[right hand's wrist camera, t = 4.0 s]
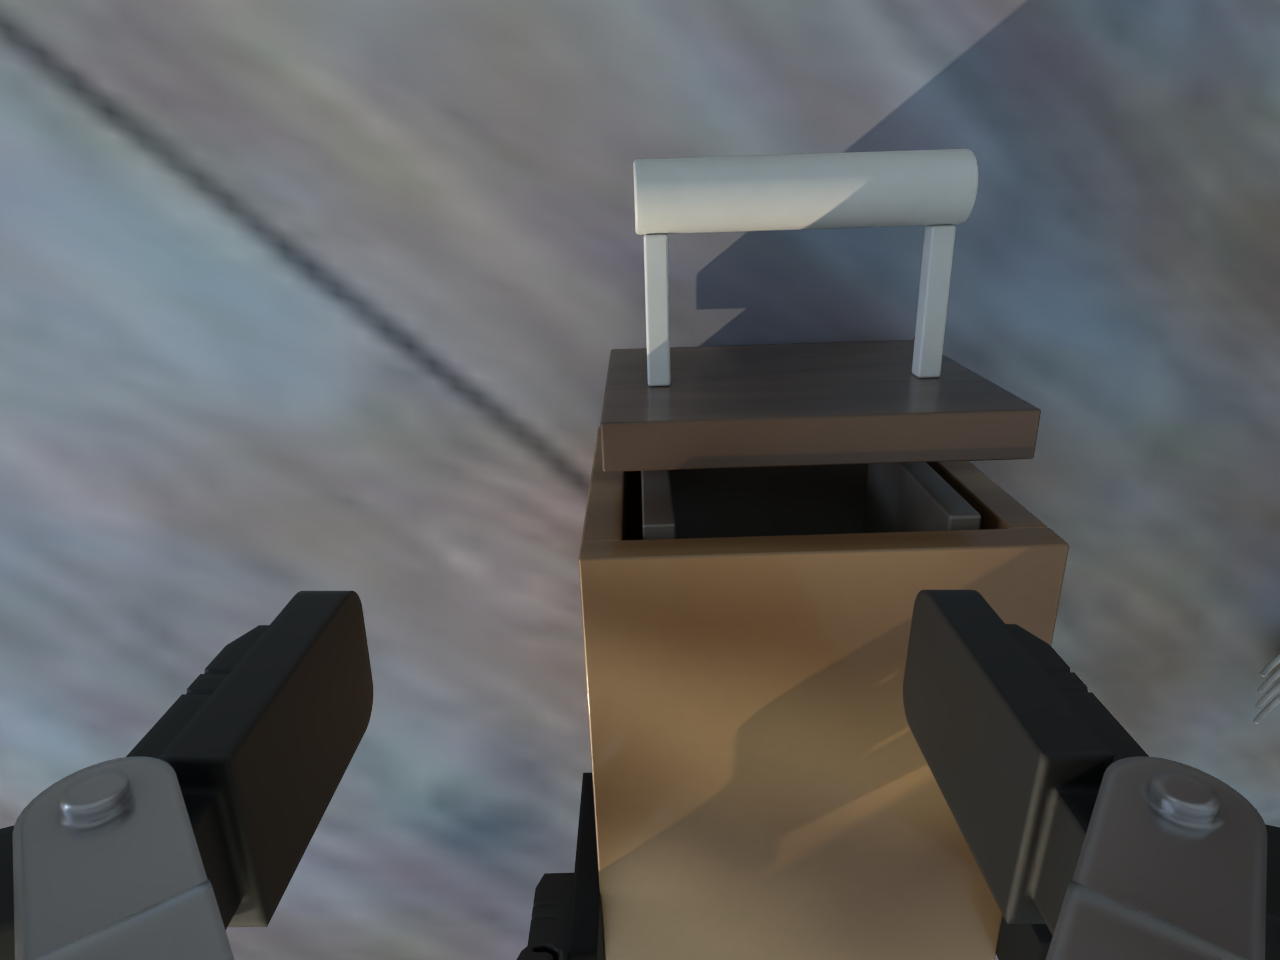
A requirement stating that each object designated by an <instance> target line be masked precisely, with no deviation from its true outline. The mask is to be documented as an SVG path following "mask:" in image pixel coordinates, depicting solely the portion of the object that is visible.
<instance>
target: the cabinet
mask: <svg viewBox="0 0 1280 960" xmlns="http://www.w3.org/2000/svg"><path fill="white" fill-rule="evenodd" d="M926 463H927V464H928V465H929V466H930V467H931V468H932V469H933V470H934V471H936V472H937V473H938V474H939V475H940V476H941V477H942V478H943V479H944V480H945V481H946V482H947V483H948V484H949V485H950V486H951V487H952V488H953V489H954V490H955V491H956V492H957V493H958V494H959V495H960V496H961V497H962V498H964V499H965V500H966V501H967V502H968V503H969V504H970V505H971V506H972V507H973V508H974V509H975V510H976V511H977V512H978V513H979V514H980V516H981V521H980V528H979V530H953V531H920V532H887V533H854V534H821V535H788V536H755V537H722V538H688V539H655V540H643V527H642V482H641V471H617V472H604V471H603V467H602V447H601V427H600V428H598V433H597V439H596V446H595V453H594V459H593V466H592V473H591V480H590V486H589V493H588V500H587V507H586V513H585V520H584V527H583V534H582V540H581V547H580V553H579V560H578V561H579V577H580V592H581V608H582V623H583V639H584V654H585V670H586V685H587V701H588V716H589V732H590V747H591V763H592V778H593V794H594V809H595V825H596V840H597V856H598V871H599V887H600V899H601V914H602V930H603V945H604V960H995V955H996V950H997V944H998V939H999V933H1000V928H1001V922H1002V916H1003V915H1002V913H1001V911H1000V909H999V907H998V905H997V903H996V901H995V899H994V897H993V895H992V893H991V891H990V889H989V887H988V884H987V882H986V880H985V878H984V876H983V874H982V872H981V870H980V868H979V866H978V864H977V862H976V860H975V858H974V856H973V854H972V852H971V850H970V848H969V846H968V844H967V842H966V840H965V838H964V836H963V834H962V832H961V830H960V828H959V826H958V824H957V822H956V820H955V818H954V816H953V814H952V812H951V810H950V808H949V806H948V804H947V802H946V800H945V798H944V796H943V794H942V792H941V790H940V788H939V786H938V784H937V782H936V780H935V778H934V776H933V774H932V772H931V770H930V768H929V766H928V764H927V762H926V760H925V758H924V756H923V754H922V752H921V750H920V748H919V746H918V744H917V742H916V740H915V738H914V736H913V734H912V732H911V730H910V727H909V725H908V722H907V719H906V715H905V710H904V703H903V680H904V673H905V665H906V658H907V651H908V644H909V636H910V629H911V622H912V615H913V608H914V602H915V599H916V596H917V594H918V593H919V592H920V591H921V590H976V591H978V592H979V593H980V594H981V595H982V597H983V598H984V599H985V600H986V601H987V603H988V604H989V605H990V606H991V607H992V609H993V610H994V611H995V612H996V613H997V615H998V616H999V617H1000V618H1001V619H1002V621H1003V622H1004V623H1005V624H1017V625H1018V626H1020V627H1022V628H1023V629H1025V630H1027V631H1028V632H1030V633H1031V634H1033V635H1035V636H1036V637H1038V638H1040V639H1041V640H1043V641H1044V642H1046V643H1048V644H1049V645H1050V646H1051V644H1052V638H1053V632H1054V627H1055V621H1056V616H1057V610H1058V605H1059V599H1060V593H1061V588H1062V582H1063V577H1064V571H1065V566H1066V560H1067V554H1068V549H1069V545H1068V543H1067V542H1065V541H1064V540H1063V539H1062V538H1061V537H1059V536H1058V535H1057V534H1056V533H1055V532H1053V531H1052V530H1051V529H1050V528H1047V526H1046V525H1045V524H1044V523H1042V522H1041V521H1040V520H1039V519H1038V518H1036V517H1035V516H1034V515H1033V514H1032V513H1030V512H1029V511H1028V510H1027V509H1026V508H1024V507H1023V506H1022V505H1021V504H1020V503H1018V502H1017V501H1016V500H1015V499H1014V498H1012V497H1011V496H1010V495H1009V494H1008V493H1006V492H1005V491H1004V490H1003V489H1002V488H1000V487H999V486H998V485H997V484H996V483H995V482H993V481H992V480H991V479H990V478H989V477H987V476H986V475H985V474H984V473H983V472H981V471H980V470H979V469H978V468H977V467H975V466H974V465H973V464H972V463H971V462H969V461H944V462H926Z"/></svg>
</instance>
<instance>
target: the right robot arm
mask: <svg viewBox="0 0 1280 960" xmlns="http://www.w3.org/2000/svg"><path fill="white" fill-rule="evenodd" d="M903 703H904V710H905V715H906V719H907V722H908V725H909V727H910V730H911V732H912V734H913V736H914V738H915V740H916V742H917V744H918V746H919V748H920V750H921V752H922V754H923V756H924V758H925V760H926V762H927V764H928V766H929V768H930V770H931V772H932V774H933V776H934V778H935V780H936V782H937V784H938V786H939V788H940V790H941V792H942V794H943V796H944V798H945V800H946V802H947V804H948V806H949V808H950V810H951V812H952V814H953V816H954V818H955V820H956V822H957V824H958V826H959V828H960V830H961V832H962V834H963V836H964V838H965V840H966V842H967V844H968V846H969V848H970V850H971V852H972V854H973V856H974V858H975V860H976V862H977V864H978V866H979V868H980V870H981V872H982V874H983V876H984V878H985V880H986V882H987V884H988V887H989V889H990V891H991V893H992V895H993V897H994V899H995V901H996V903H997V905H998V907H999V909H1000V911H1001V913H1002V915H1003V917H1004V919H1005V921H1006V923H1007V924H1046V925H1047V926H1048V928H1049V930H1050V932H1051V934H1052V935H1053V937H1052V941H1051V944H1050V947H1049V951H1048V954H1047V957H1046V960H1280V828H1279V827H1274V826H1270V825H1265V823H1264V821H1263V819H1262V817H1261V816H1260V814H1259V813H1258V811H1257V810H1256V809H1255V808H1254V807H1253V805H1252V804H1251V803H1250V802H1249V801H1248V800H1247V799H1245V798H1244V797H1243V796H1242V795H1241V794H1240V793H1238V792H1237V791H1236V790H1234V789H1233V788H1231V787H1230V786H1229V785H1227V784H1225V783H1224V782H1222V781H1220V780H1219V779H1217V778H1215V777H1213V776H1211V775H1209V774H1207V773H1205V772H1203V771H1201V770H1198V769H1196V768H1193V767H1191V766H1188V765H1185V764H1182V763H1179V762H1175V761H1171V760H1167V759H1162V758H1155V757H1149V756H1148V755H1147V754H1146V753H1145V752H1144V750H1143V749H1142V748H1141V747H1140V746H1139V745H1138V744H1137V743H1136V741H1135V740H1134V739H1133V738H1132V737H1131V736H1130V735H1129V734H1128V732H1127V731H1126V730H1125V729H1124V728H1123V727H1122V726H1121V725H1120V723H1119V722H1118V721H1117V720H1116V719H1115V718H1114V717H1113V716H1112V714H1111V713H1110V712H1109V711H1108V710H1107V709H1106V708H1105V707H1104V706H1103V704H1102V703H1101V702H1100V701H1099V700H1098V699H1097V698H1096V697H1095V695H1094V694H1093V693H1088V691H1087V686H1086V685H1085V684H1084V683H1083V682H1082V681H1081V680H1080V679H1079V677H1078V676H1077V675H1076V674H1075V673H1070V667H1069V666H1068V665H1067V664H1066V663H1065V662H1064V661H1063V660H1062V658H1061V657H1060V656H1059V655H1058V654H1057V653H1056V652H1055V651H1054V649H1053V648H1052V647H1051V646H1050V645H1049V644H1048V643H1046V642H1044V641H1043V640H1041V639H1040V638H1038V637H1036V636H1035V635H1033V634H1031V633H1030V632H1028V631H1027V630H1025V629H1023V628H1022V627H1020V626H1018V625H1017V624H1005V623H1004V622H1003V621H1002V619H1001V618H1000V617H999V616H998V615H997V613H996V612H995V611H994V610H993V609H992V607H991V606H990V605H989V604H988V603H987V601H986V600H985V599H984V598H983V597H982V595H981V594H980V593H979V592H978V591H976V590H921V591H920V592H919V593H918V594H917V596H916V599H915V602H914V608H913V615H912V622H911V629H910V636H909V644H908V651H907V658H906V665H905V673H904V680H903ZM372 704H373V682H372V674H371V667H370V660H369V653H368V646H367V639H366V631H365V624H364V617H363V610H362V604H361V601H360V598H359V596H358V594H357V593H356V592H354V591H300V592H298V593H297V594H296V595H295V596H294V597H293V598H292V599H291V601H290V602H289V603H288V604H287V605H286V607H285V608H284V609H283V610H282V611H281V613H280V614H279V615H278V616H277V617H276V618H275V620H274V621H273V622H272V623H271V624H270V625H259V626H257V627H256V628H254V629H253V630H251V631H249V632H248V633H246V634H244V635H243V636H241V637H239V638H238V639H236V640H235V641H233V642H231V643H230V644H228V645H226V646H225V647H224V649H223V650H222V651H221V652H220V653H219V654H218V655H217V656H216V657H215V659H214V660H213V661H212V662H211V663H210V664H209V665H208V666H207V667H206V669H205V673H204V674H200V675H199V676H198V677H197V679H196V680H195V681H194V682H193V683H192V684H191V685H190V686H189V688H188V689H187V694H186V695H181V696H180V698H179V699H178V700H177V701H176V702H175V703H174V704H173V705H172V706H171V708H170V709H169V710H168V711H167V712H166V713H165V714H164V715H163V716H162V718H161V719H160V720H159V721H158V722H157V723H156V724H155V725H154V726H153V728H152V729H151V730H150V731H149V732H148V733H147V734H146V735H145V736H144V738H143V739H142V740H141V741H140V742H139V743H138V744H137V745H136V746H135V748H134V749H133V750H132V751H131V752H130V753H129V754H128V755H127V756H126V757H125V758H118V759H113V760H109V761H105V762H101V763H98V764H95V765H92V766H89V767H87V768H84V769H82V770H79V771H77V772H75V773H73V774H71V775H69V776H67V777H65V778H63V779H61V780H60V781H58V782H56V783H55V784H53V785H51V786H50V787H49V788H47V789H46V790H44V791H43V792H42V793H40V794H39V795H38V796H37V797H36V798H35V799H33V800H32V801H31V802H30V803H29V804H28V805H27V807H26V808H25V809H24V810H23V811H22V813H21V814H20V816H19V817H18V819H17V821H16V823H15V825H14V826H10V827H6V828H2V829H0V960H234V957H233V954H232V951H231V947H230V944H229V941H228V937H227V934H226V931H225V930H226V929H227V927H267V926H268V924H269V922H270V920H271V918H272V916H273V914H274V912H275V910H276V908H277V906H278V904H279V902H280V900H281V898H282V896H283V894H284V892H285V890H286V888H287V886H288V884H289V882H290V880H291V878H292V876H293V874H294V872H295V870H296V868H297V866H298V864H299V862H300V860H301V858H302V856H303V854H304V852H305V850H306V848H307V846H308V844H309V842H310V840H311V838H312V836H313V834H314V832H315V830H316V828H317V826H318V824H319V822H320V820H321V818H322V816H323V814H324V812H325V810H326V808H327V806H328V804H329V802H330V801H331V799H332V797H333V795H334V793H335V791H336V789H337V787H338V785H339V783H340V781H341V779H342V777H343V775H344V773H345V771H346V769H347V767H348V765H349V763H350V761H351V759H352V757H353V755H354V753H355V751H356V749H357V747H358V745H359V743H360V741H361V739H362V737H363V735H364V733H365V731H366V729H367V726H368V723H369V720H370V716H371V711H372Z"/></svg>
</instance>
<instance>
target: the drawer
mask: <svg viewBox="0 0 1280 960" xmlns="http://www.w3.org/2000/svg"><path fill="white" fill-rule="evenodd" d="M633 165H634V198H635V230H636V233H637V234H639V235H642V234H645V235H644V267H645V304H646V340H647V348H643V349H613V350H611V353H610V360H609V367H608V374H607V381H606V389H605V396H604V403H603V410H602V417H601V424H600V427H601V447H602V467H603V471H604V472H617V471H641V482H642V527H643V540H655V539H688V538H722V537H755V536H788V535H821V534H854V533H887V532H920V531H953V530H979V528H980V521H981V516H980V514H979V513H978V512H977V511H976V510H975V509H974V508H973V507H972V506H971V505H970V504H969V503H968V502H967V501H966V500H965V499H964V498H962V497H961V496H960V495H959V494H958V493H957V492H956V491H955V490H954V489H953V488H952V487H951V486H950V485H949V484H948V483H947V482H946V481H945V480H944V479H943V478H942V477H941V476H940V475H939V474H938V473H937V472H936V471H934V470H933V469H932V468H931V467H930V466H929V465H928V464H927V463H926V462H944V461H976V460H1009V459H1032V458H1033V457H1034V451H1035V445H1036V439H1037V432H1038V426H1039V419H1040V413H1041V411H1040V409H1038V408H1037V407H1035V406H1033V405H1031V404H1029V403H1028V402H1026V401H1024V400H1022V399H1021V398H1019V397H1017V396H1015V395H1013V394H1012V393H1010V392H1008V391H1006V390H1005V389H1003V388H1001V387H999V386H997V385H996V384H994V383H992V382H990V381H989V380H987V379H985V378H983V377H981V376H980V375H978V374H976V373H974V372H973V371H971V370H969V369H967V368H965V367H964V366H962V365H960V364H958V363H957V362H955V361H953V360H951V359H949V358H948V357H946V356H944V355H942V353H943V344H944V334H945V325H946V315H947V306H948V297H949V287H950V278H951V269H952V259H953V250H954V240H955V231H956V227H955V226H954V225H953V224H961V223H963V222H965V221H966V220H967V219H968V217H969V216H970V214H971V212H972V209H973V207H974V204H975V200H976V196H977V190H978V164H977V160H976V157H975V155H974V153H973V152H972V151H971V150H969V149H940V150H909V151H879V152H848V153H817V154H786V155H756V156H725V157H694V158H663V159H636V160H634V163H633ZM922 225H927V226H926V227H925V235H924V246H923V257H922V267H921V278H920V289H919V299H918V310H917V321H916V331H915V340H898V341H867V342H835V343H803V344H771V345H739V346H707V347H675V348H670V319H669V260H668V236H667V234H673V233H704V232H735V231H766V230H797V229H829V228H860V227H891V226H922Z"/></svg>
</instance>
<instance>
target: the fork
mask: <svg viewBox="0 0 1280 960" xmlns="http://www.w3.org/2000/svg"><path fill="white" fill-rule="evenodd" d="M1279 663H1280V654H1279V655H1278V656H1276V657H1275V658H1274V659H1273V660H1272V661H1271V662H1270V663H1269V664H1268V665H1267V666H1266V667H1265V668H1264V669H1263V670H1262V672H1261V673H1260V675H1261V676H1262V677H1265V676H1267V674H1268V673H1269V672H1270V671H1271V670H1272V669H1273V668H1274V667H1275V666H1277V665H1278V664H1279ZM1278 677H1280V667H1279V668H1278V669H1277V670H1276V671H1275V672H1274V673H1273V674H1272V675H1271V676H1270V677H1269V678H1268V679H1267V680H1266V681H1265V682H1264V683H1263V684H1262V685H1261V686H1260V687H1259V688H1258V691H1259V692H1264V691H1265V690H1266V689H1267V688H1268V687H1269V686H1270V685H1271V684H1272V683H1273V682H1274V681H1275V680H1276V679H1277V678H1278ZM1279 690H1280V681H1278V682H1277V683H1276V684H1275V685H1274V686H1273V687H1272V688H1271V689H1270V690H1269V691H1268V692H1267V693H1266V694H1265V695H1264V696H1263V697H1262V698H1261V699H1260V700H1259V701H1258V702H1257V704H1256V707H1258V708H1262V706H1263V705H1264V704H1265V703H1266V702H1267V701H1268V700H1269V699H1270V698H1271V697H1272V696H1273V695H1274V694H1275V693H1277V692H1278V691H1279ZM1279 703H1280V694H1279V695H1277V696H1276V697H1275V698H1274V699H1273V700H1272V701H1271V702H1270V703H1269V704H1268V705H1267V706H1266V707H1265V708H1264V709H1263V710H1262V711H1261V712H1260V713H1259V714H1258V715H1257V716H1256V718H1255V719H1254V720H1253V722H1254V723H1256V724H1259V723H1260V722H1261V720H1262V719H1263V718H1264V717H1265V716H1266V715H1267V714H1268V713H1269V712H1270V711H1271V710H1272V709H1273V708H1274V707H1276V706H1277V705H1278V704H1279Z"/></svg>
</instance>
